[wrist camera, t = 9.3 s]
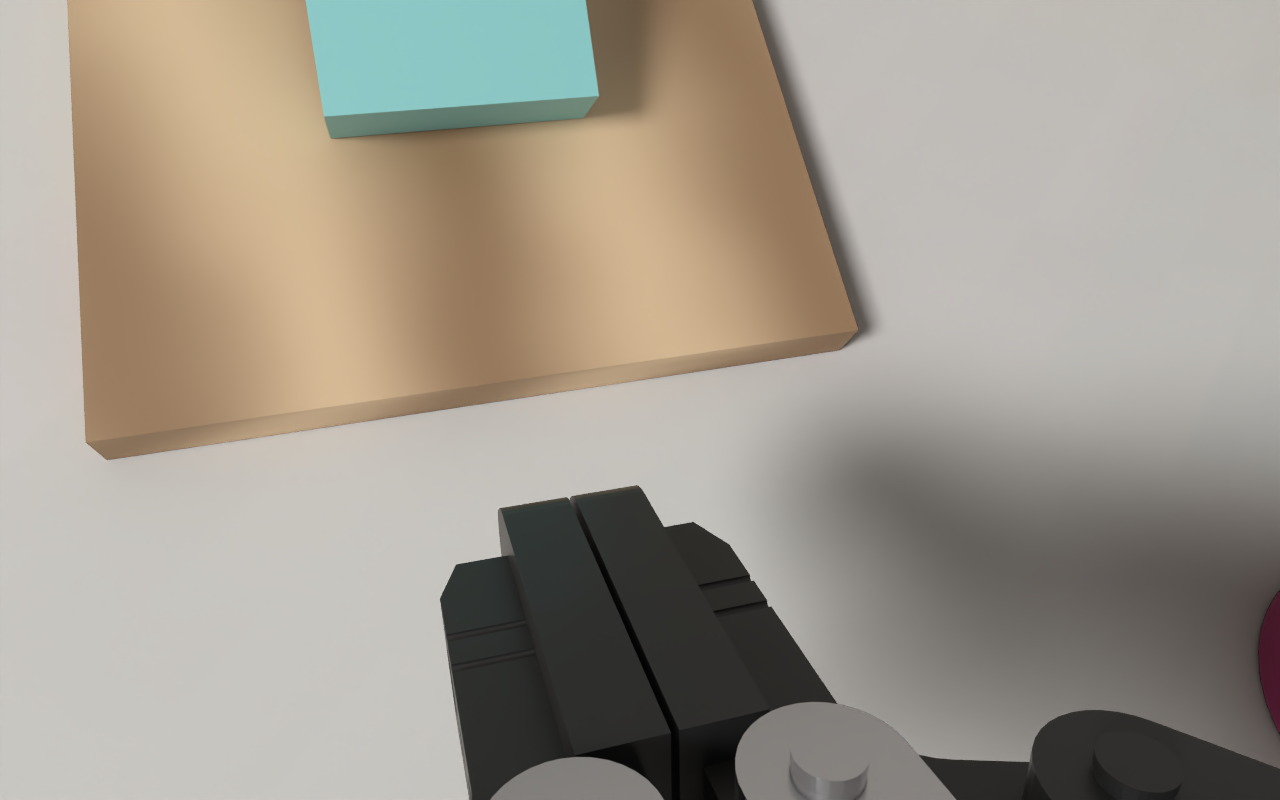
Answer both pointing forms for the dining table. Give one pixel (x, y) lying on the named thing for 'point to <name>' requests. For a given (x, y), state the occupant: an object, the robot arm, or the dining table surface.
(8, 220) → the dining table surface
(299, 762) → the dining table surface
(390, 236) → the board
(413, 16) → the domino
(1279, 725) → the cup
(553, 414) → the dining table surface
